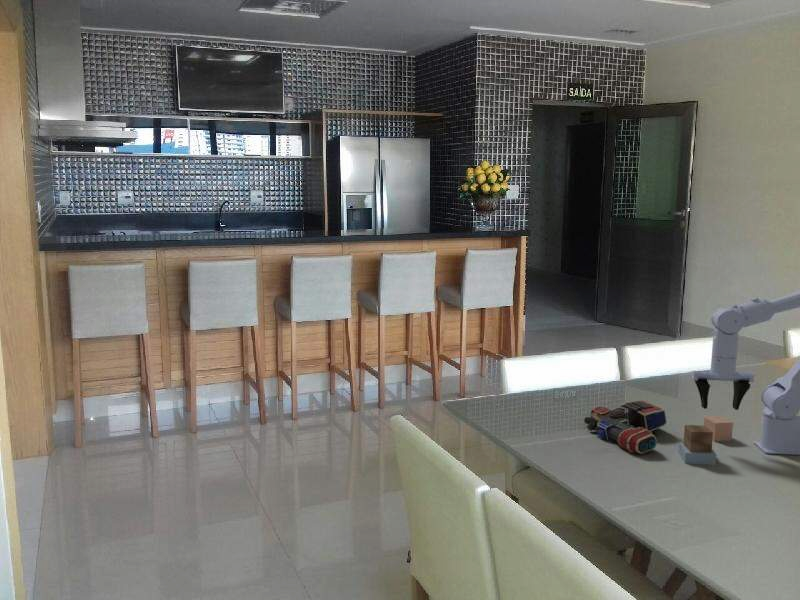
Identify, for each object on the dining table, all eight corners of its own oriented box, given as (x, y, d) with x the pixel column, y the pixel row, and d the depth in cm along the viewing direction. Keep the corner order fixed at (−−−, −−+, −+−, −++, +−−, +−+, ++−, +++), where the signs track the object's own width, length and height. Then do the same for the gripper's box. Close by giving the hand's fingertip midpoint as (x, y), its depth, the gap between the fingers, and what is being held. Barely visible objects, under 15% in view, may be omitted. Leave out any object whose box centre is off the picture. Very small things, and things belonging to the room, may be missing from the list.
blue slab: (708, 455, 176) (708, 444, 176) (715, 466, 169) (716, 454, 169) (678, 454, 177) (679, 442, 177) (684, 464, 171) (685, 452, 170)
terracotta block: (720, 434, 191) (721, 416, 190) (731, 440, 186) (733, 422, 185) (702, 435, 190) (704, 417, 189) (714, 441, 185) (715, 423, 184)
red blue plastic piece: (631, 440, 173) (697, 412, 178) (573, 412, 196) (633, 388, 202) (637, 469, 174) (701, 441, 180) (578, 438, 198) (637, 414, 204)
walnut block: (704, 445, 175) (705, 425, 175) (711, 452, 170) (712, 432, 170) (683, 444, 176) (684, 425, 175) (690, 451, 171) (691, 431, 170)
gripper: (748, 353, 182) (743, 404, 184) (689, 351, 183) (685, 402, 185) (759, 359, 175) (754, 412, 177) (698, 357, 176) (694, 410, 179)
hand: (719, 408), depth 181 cm, fingers open, 7 cm apart
